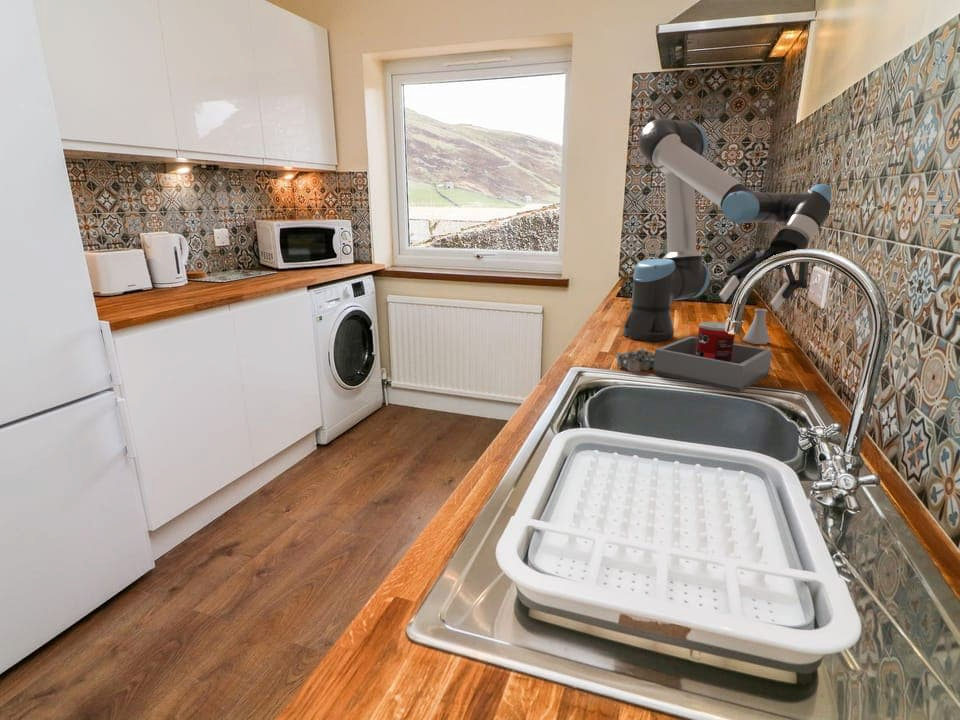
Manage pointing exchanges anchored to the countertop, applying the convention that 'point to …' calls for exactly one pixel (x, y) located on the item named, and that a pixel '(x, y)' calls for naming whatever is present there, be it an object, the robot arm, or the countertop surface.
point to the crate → (712, 365)
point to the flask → (758, 329)
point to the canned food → (714, 341)
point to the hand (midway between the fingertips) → (746, 302)
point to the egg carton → (636, 360)
